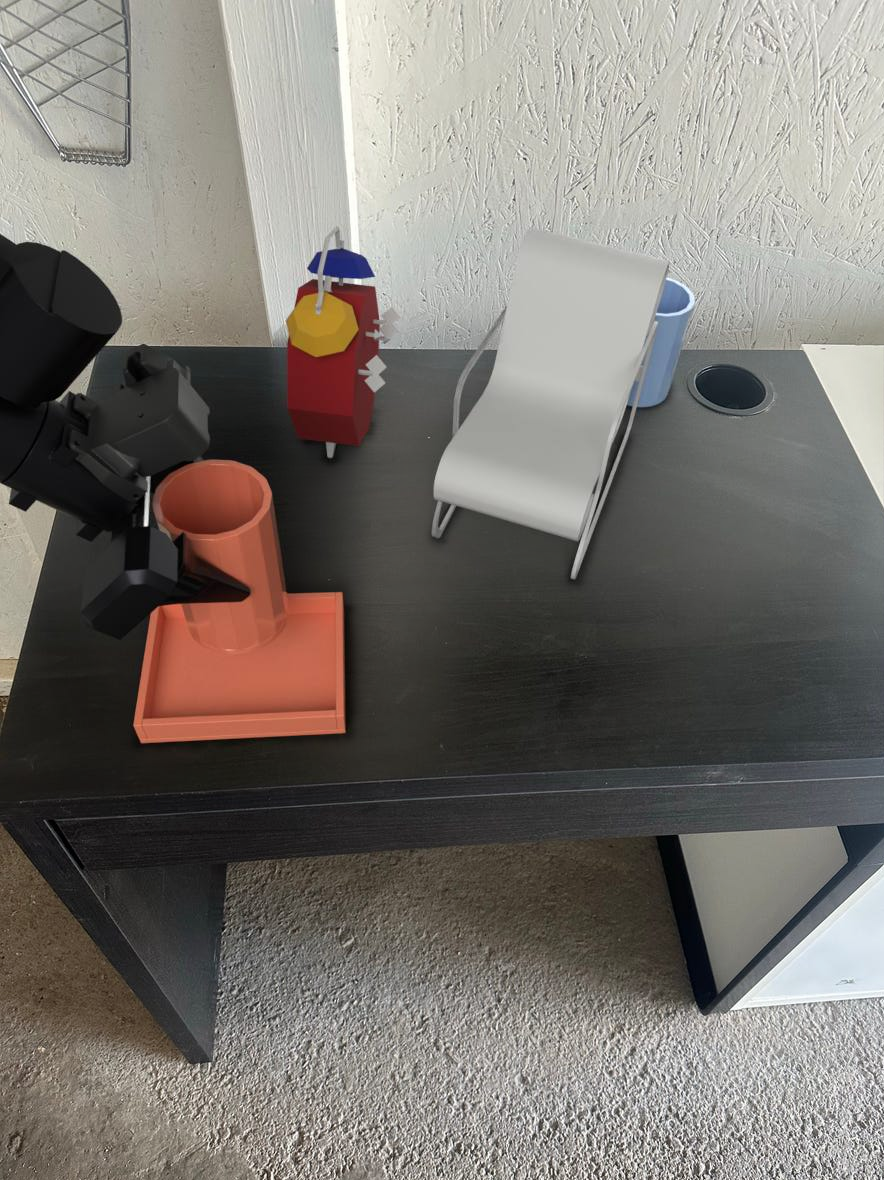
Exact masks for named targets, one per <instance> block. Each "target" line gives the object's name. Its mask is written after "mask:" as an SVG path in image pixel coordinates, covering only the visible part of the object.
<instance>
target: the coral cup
mask: <svg viewBox="0 0 884 1180" xmlns="http://www.w3.org/2000/svg"><path fill="white" fill-rule="evenodd" d="M273 496H274V495H273V491H272V489H271V487H270V484H269V482H268V480H267V478H266V477H265V476H264V475H263V474H262V473H260V472H259V471H258V470H257V469H255V468H254V467H252V466H250V465H248V464H244V463H241V462H238V461H236V460H230V459H206V460H205V459H204V461H201V462H196V463H191V464H188V465H185V466H184V467H182V468H180V469H178V470H176V471H174V472H172V473H170V474H169V475H168V476H167V477H166V478H165V479H164V480H163V481H162V482H161V483H160V484H159V485H158V487H157V488H156V490H155V494H153V497H152V501H151V508H152V512H153V515H154V518H155V521H156V525H157V529H158V530H160V531H162V532H164V533H166V534H167V535H168V537H169V538H170V539H171V541H172V542H173V541H174V540H175V539H176V538H177V537H178V536H179V535H180V534H181V533H182V532H185V534H186V536H187V539H188V543H189V546H190V550H191V553H192V554H193V555H194V556H196V557H198V558H199V559H201V560H203V561H205V562H206V563H208V564H210V565H212V566H213V567H215V568H217V569H219V570H221V571H222V572H224V573H226V574H228V575H229V576H231V577H233V578H235V579H236V580H238V581H239V582H241V583H242V584H243V585H245V586H246V587H248V588H249V589H250V592H251V594H250V596H249V597H248V598H246V599H245V600H244V601H242V602H224V603H189V604H181V606H182V609H183V613H184V616H185V619H186V623H187V626H188V629H189V632H190V634H191V635H192V637H193V638H194V639H195V640H196V642H198V643H199V644H200V645H201V646H203V647H205V648H206V649H208V650H211V651H213V652H216V653H221V654H229V655H238V654H245V653H250V652H253V651H256V650H259V649H261V648H263V647H265V646H266V645H268V644H270V643H271V642H272V641H274V640H275V639H276V638H277V637H278V636H279V635H280V633H281V632H282V631H283V629H284V627H285V625H286V623H287V619H288V599H287V594H288V592H287V584H286V579H285V572H284V571H285V570H284V565H283V559H282V558H283V557H282V551H281V544H280V538H279V537H280V536H279V530H278V523H277V518H276V510H275V504H274V497H273Z"/></svg>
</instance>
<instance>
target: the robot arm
mask: <svg viewBox="0 0 884 1180" xmlns="http://www.w3.org/2000/svg"><path fill="white" fill-rule="evenodd" d="M122 325H123V316H122V310H121V307H120V306H119V303H118V301H117V299H116V297H115V296H114V294H113V293H112V291H111V289H110V288H109V287H108V285H107V284H106V283H105V282H104V281H103V280H102V278H101V277H99V275H97V273H96V272H95V271H93V270H92V268H90V267H89V266H88V265H87V264H86V263H84V262H83V261H82V260H80V259H79V258H77V257H76V256H75V255H73V254H71V253H70V252H69V251H67V250H65V249H61V251H60V250H58V249H55V248H53V247H52V246H49V245H46V244H44V243H43V244H42V243H39V242H34V241H24V242H19V243H17V244H16V243H15V242H14V241H12V240H10V239H9V238H8V237H6V236H5V235H3V234H2V233H0V484H1V485H3V486H5V487H7V488H10V495H9V500H8V505H10V506H12V507H13V508H17V509H19V510H21V511H23V512H27V511H28V510H29V509H30V508H31V507H32V506H33V505H34V504H35V502H36V501H37V502H39V503H41V504H42V505H46V506H48V507H49V508H51V509H54V510H56V511H58V512H60V513H62V514H64V515H65V516H68V517H70V518H72V519H75V520H77V521H76V529H75V531H76V532H75V535H76V536H77V537H80V538H81V539H84V540H85V541H88V542H90V543H92V542H93V541H94V540H95V539H96V538H97V537H98V536H99V535H100V534H101V533H102V532H103V531H105V532H107V533H110V532H111V536H110V544H108V545H107V546H106V548H105V549H103V551H101V552H100V553H99V554H98V555H97V556H96V557H95V558H94V559H93V560H92V561H91V562H90V563H89V564H88V565H87V566H86V567H85V568H84V570H83V571H84V572H83V582H82V592H81V602H80V610H79V613H80V616H81V617H82V619H83V622H84V624H85V626H86V627H88V628H89V629H92V630H94V631H95V632H98V633H101V634H103V635H106V636H109V637H112V638H114V639H116V640H119V641H121V640H122V639H124V637H126V636H127V635H128V634H129V633H130V632H132V631H133V630H134V629H135V628H136V627H137V626H138V625H139V624H140V623H142V621H144V620H145V619H146V618H147V617H148V616H150V615H151V612H153V611H154V610H155V609H156V608H157V607H158V606H166V605H174V604H189V603H224V602H242V601H244V600H245V599H246V598H248V597H249V596H250V594H251V592H250V589H249V588H248V587H246V586H245V585H243V584H242V583H241V582H239V581H238V580H236V579H235V578H233V577H231V576H229V575H228V574H226V573H224V572H222V571H221V570H219V569H217V568H215V567H213V566H212V565H210V564H208V563H206V562H205V561H203V560H201V559H199V558H198V557H196V556H194V555H193V554H192V553H191V550H190V546H189V543H188V539H187V536H186V534H185V532H182V533H181V534H180V535H179V536H178V537H177V538H176V539H175V540H174V541H173V542H172V541H171V539H170V538H169V537H168V535H167V534H166V533H164V532H162V531H160V530H159V528H155V527H153V526H151V525H149V517H150V498H151V497H150V496H151V494H153V495H154V494H155V490H156V488H157V487H158V485H159V484H160V483H161V482H162V481H163V480H164V479H165V478H166V477H167V476H168V475H169V474H170V473H172V472H174V471H176V470H178V469H180V468H182V467H184V466H185V465H188V464H191V463H196V462H201V461H205V459H204V457H202V455H203V454H205V453H206V452H207V450H208V449H209V447H210V443H211V436H210V433H209V416H210V413H211V412H210V407H209V406H208V404H207V403H206V402H205V401H204V399H203V398H202V397H201V396H200V395H199V393H197V391H196V390H195V389H194V387H193V386H192V383H191V381H192V377H191V376H192V371H191V369H190V367H189V366H188V365H186V364H178V362H177V361H176V360H175V359H174V358H172V357H170V356H169V355H167V354H165V353H163V352H161V351H159V350H157V349H156V348H153V347H152V346H149V345H148V344H145V343H141V344H138V345H137V346H135V347H132V348H131V349H129V350H126V351H125V352H124V354H123V366H122V373H123V377H124V382H125V385H126V386H124V384H123V383H121V382H120V383H118V384H116V385H115V387H114V395H113V396H111V397H109V398H108V399H106V400H104V401H102V402H101V401H97V400H95V399H92V398H91V397H89V396H87V395H85V394H84V393H81V392H77V393H74V392H72V391H70V390H68V389H69V388H70V387H71V386H72V384H73V383H74V382H75V381H76V380H77V379H78V377H79V376H80V375H82V374H81V373H83V372H84V371H85V369H86V368H87V367H88V366H89V365H90V363H91V362H92V361H93V360H94V359H95V358H96V357H97V356H98V354H99V353H100V352H101V351H102V350H103V348H104V347H106V345H107V344H108V343H109V342H110V341H111V339H112V338H113V337H114V336H115V335H116V334H117V332H118V331H119V330H120V328H121V326H122ZM67 390H68V391H67ZM66 391H67V393H66V394H65V395H64V393H65V392H66ZM63 395H64V396H63ZM62 396H63V397H62ZM61 397H62V399H61V400H60V401H58V399H60V398H61Z"/></svg>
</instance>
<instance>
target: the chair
mask: <svg viewBox="0 0 884 1180" xmlns="http://www.w3.org/2000/svg"><path fill="white" fill-rule="evenodd" d="M516 258H517V259H516V262H515V267H514V271H513V275H512V280H511V285H510V288H509V289H510V290H509V293H508V294H509V295H508V299H507V304H506V305H505V307H504V309H503V310H502V312H501V313H500V314H499V316H498V318H497V319H496V321H495V322H494V324H493V325H492V326H491V328H490V330H489V331H488V333H487V334H486V335H485V337H484V338H483V340H482V341H481V343H480V344H479V346H478V347H477V349H476V350H475V352H474V353H473V355H472V356H471V358H470V359H469V361H468V362H467V364H466V365H465V367H464V368H463V371H462V373H461V375H460V376H459V379H458V382H457V385H456V389H455V393H454V394H455V395H454V398H453V412H452V439H451V440H450V442H449V443H448V445H447V446H446V448H445V450H444V451H443V453H442V456H441V458H440V461H439V464H438V467H437V470H436V474H435V478H434V483H433V499H434V500H435V501H437V504H436V506H435V507H436V508H435V511H434V516H433V518H432V519H433V520H432V526H431V536H432V537H433V538H435V539H440V538H441V537H442V535H443V532H445V529H446V527H447V525H448V524H449V522H450V519H451V518H452V516H453V513H454V512H455V510H456V508H457V507H459V508H463V509H466V510H468V511H471V512H475V513H480V514H483V515H487V516H489V517H493V518H497V519H500V520H503V521H507V522H510V523H513V524H517V525H520V526H524V527H527V528H530V529H533V530H536V531H541V532H544V533H547V534H550V535H554V536H557V537H562V538H563V539H564V538H565V539H568V540H571V541H574V542H577V543H578V542H579V541H580V542H579V545H578V549H577V552H576V555H575V559H574V562H573V566H572V569H571V574H570V579H571V580H576V579H577V576H578V574H579V571H580V568H581V566H582V564H583V560H584V558H585V555H586V553H587V550H588V547H589V544H590V541H591V539H592V536H593V533H594V531H595V528H596V525H597V522H598V520H599V518H600V515H601V512H602V510H603V507H604V504H605V501H606V499H607V496H608V494H609V490H610V488H611V485H612V482H613V480H614V477H615V474H616V471H617V469H618V466H619V463H620V461H621V458H622V457H623V456H622V455H623V453H624V450H625V448H626V445H627V442H628V439H629V436H630V434H631V430H632V427H633V423H634V420H635V415H636V411H637V408H638V407H637V404H638V400H639V397H640V393H641V389H642V385H643V381H644V378H645V374H646V370H647V366H648V362H649V359H650V355H651V351H652V347H653V343H654V339H655V335H656V331H657V327H658V322H657V321H654V318H655V315H656V312H657V309H658V306H659V303H660V300H661V296H662V293H663V289H664V286H665V282H666V278H668V274H669V270H670V266H671V265H670V264H671V261H670V260H667V259H663V258H658V257H654V256H650V255H647V254H642V253H638V252H634V251H630V250H625V249H622V248H618V247H613V246H610V245H605V244H602V243H597V242H593V241H589V240H585V239H581V238H577V237H572V236H569V235H566V234H565V235H564V234H560V233H556V232H552V231H548V230H544V229H539V228H536V227H532V226H530V227H528V228H527V230H526V232H525V234H524V236H523V239H522V242H521V244H520V248H519V251H518V254H517V257H516ZM653 321H654V323H653ZM652 324H653V325H652ZM501 325H502V328H501V332H500V337H499V341H498V347H497V352H496V356H495V362H494V365H493V369H492V372H491V376H490V378H489V380H488V383H487V386H486V387H485V389H484V391H483V392H482V394H481V396H480V397H479V399H478V400H477V402H476V403H475V405H474V406H473V407H472V409H471V411H470V412H469V413H468V415H467V417H466V418H465V420H464V421H463V423H462V424H461V425H460V426H459V423H460V405H461V397H462V393H463V389H464V385H465V383H466V380H467V378H468V376H469V375H470V372H471V371H472V369H473V368H474V366H475V365H476V363H477V362H478V360H479V359H480V357H481V355H482V354H483V352H484V351H485V350H486V348H487V347H488V345H489V343H490V342H491V340H492V339H493V337H494V336H495V334H496V332H497V331H498V330H499V328H500V326H501ZM651 326H652V328H651ZM650 329H651V330H650ZM649 331H650V333H649ZM648 334H649V335H648ZM647 336H648V337H647ZM646 337H647V340H646V342H645V338H646ZM644 342H645V345H644ZM643 346H644V347H643ZM647 349H648V350H647ZM646 352H647V354H646ZM645 354H646V358H645V362H644V366H641V364H642V362H643V359H644V357H645ZM642 368H643V370H642ZM641 372H642V374H641ZM640 376H641V378H640ZM639 380H640V381H639ZM634 381H637V382H639V385H638V389H637V393H636V397H635V401H634V404H633V406H632V407H631V412H630V417H629V421H628V424H627V427H626V431H625V434H624V437H623V438H622V442H621V445H620V448H619V450H618V452H617V455H616V458H615V461H614V463H613V466H612V469H611V471H610V474H609V477H608V479H607V482H606V485H605V487H604V490H603V492H602V495H601V497H600V494H601V490H602V487H603V482H604V479H605V475H606V470H607V465H608V462H609V457H610V453H611V448H612V446H613V443H614V441H615V438H616V436H617V434H618V431H619V428H620V426H621V423H622V421H623V417H624V415H625V412H626V408H627V406H628V405H627V402H628V398H629V395H630V391H631V389H632V386H633V384H634ZM595 486H596V489H595ZM594 489H595V492H594ZM593 492H594V493H593ZM599 498H600V500H599ZM598 500H599V502H598ZM443 503H445V504H447V505H448V504H449V505H450V506H449V509H448V510H447V512H446V514H445V516H444V517H443V520H442V521H441V524H440V526H439V522H440V514H441V511H442V507H443ZM597 505H598V506H597ZM596 507H597V508H596ZM595 511H596V512H595Z"/></svg>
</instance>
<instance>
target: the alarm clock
mask: <svg viewBox="0 0 884 1180" xmlns="http://www.w3.org/2000/svg"><path fill="white" fill-rule="evenodd" d="M333 236H334V237H335V239H334V240H335V247H336V248H333V249H329V247H330V241H331V239H332V237H333ZM306 269H307V270H308V272H309V273H310V274H314V275H317V279H316V278H312V279H310V280H309V281H307V282H305V283H304V284H302V285H301V286H298V288H297V291H296V292H297V293H296V298H295V302H294V308H293V309H292V311H291V312H290V314H289V315H288V317H286V319H285V323H286V324H285V325H286V328H287V331H288V338H287V342H286V378H287V379H286V380H287V381H286V382H287V384H286V385H287V386H286V387H287V388H286V389H287V391H286V393H287V394H286V395H287V396H286V397H287V405H286V406H287V407H286V409H287V411H288V414H289V417H290V419H291V422H292V425H293V428H294V431H295V434H296V437H297V439H298V440H307V441H316V442H322V443H323V442H324V443H325V447H326V455H327V458H329V459H332V458H334V456H335V451H336V448H337V447H336V446H337V444H338V445H339V444H340V445H347V446H355V447H359V446H360V445H361V444H362V442H363V440H364V439H365V437H366V435H367V433H368V432H369V430H370V425H371V420H372V415H373V408H374V403H375V402H374V401H375V397H376V392H378V391H379V390H380V389H381V388H382V387H383V386H385V384H386V382H385V380H384V379H383V378H382V376H381V375H380V374H381V373H382V372H383V371H385V370H386V369H387V366H386V364H385V363H384V362H383V361H382V359H381V358H380V357H379V351H380V341H382V344H384V345H386V344H387V343H388V342H390V341H391V338H392V337H393V336H395V335H396V334H397V333H399V329H398V328H396V326H395V325H394V323H396V322H397V321H399V320H400V319H401V316H400V315H399V314H398V313H397V311H396V310H395V309H394V308H393V307H390V308H389V309H387V310H386V311H384V312H383V313H382V314H381V315H380V312H379V305H378V298H377V290H376V286H375V285H374V286H373V285H367V284H366V285H365V284H359V283H358V284H357V283H348V282H344V279H350V280H351V279H353V280H354V279H355V280H364V279H371V278H376V276H375V273H374V271H373V269H372V268H371V265H370V263H369V260H368V259H367V257H365V256H364V255H363V254H360V253H357V252H354V251H352V250H349V249H346V248H345V240H343V239H341V231H340V227H339V226H338V225H336V226H335V227H334V228H333V229H332V230H331V231H330V232H329V234H328V235H327V236H325V238H324V243H323V247H322V251H316V253H315V254H314V256H313V257H312V260H311V261H310V262H309V264H308V266H307V267H306ZM333 278H334V279H335V278H336V279H338V281H332V280H333ZM380 317H381V318H382V319H383V320H382V319H380ZM382 335H383V336H382Z"/></svg>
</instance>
